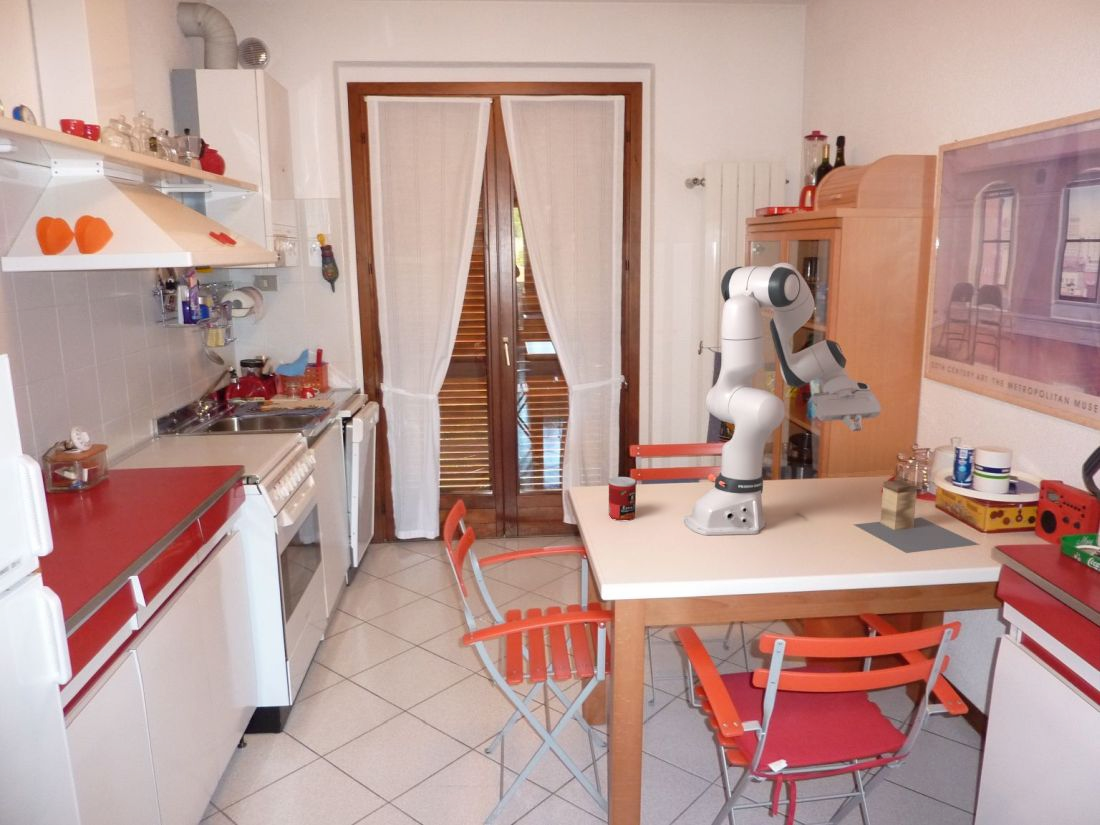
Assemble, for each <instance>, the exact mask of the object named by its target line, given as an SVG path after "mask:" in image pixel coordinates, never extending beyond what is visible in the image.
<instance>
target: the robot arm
mask: <svg viewBox="0 0 1100 825" xmlns="http://www.w3.org/2000/svg"><path fill="white" fill-rule="evenodd" d="M720 289H721V290H720V291H721V295H722V298H723V301H724V303H723V308H722V314H721V321H720V322H721V324H720V340H721V342H720V344H721V345H720V346H721V347H720V349H721V350H720V351H721V357H720V358H721V362H720V363H721V365H720V371H719V375H718V378H717V381H716V383H714V385H713V386H712V387H711V388H710V390H709V391H708V393H707V395H706V399H705V404H706V405H705V406H706V408H707V411H708V412H709V413H710V414H711V415H712V416H713V417H716V419H718V420H720V421H722V422H725V423H728V424H732V425H734V432H733V435H732V437H731V439H730V440H728V441H726V442H725V443H724V444H723V446H722V448H721V463H720V464H721V467H720V473H719V474H718V476H717V475H715V474H714V473H710V474H709V475H708V477H707V479H708V480H709V481H710V482H711V483H714V486H713V487H712V488H711V489H710V490H708V491H707V492H705V493H704V494H702V496H700V497H699V498H697V500H695V502H694V504H693V508H692V513H691V515H686V516H684V519H683V523H684V525H685V526H686V527H687V528H688V529H690V530H691V531H693V532H695V533H698V534H701V535H703V536H716V535H717V536H718V535H719V536H722V535H726V536H727V535H728V536H729V535H749V534H750V535H756V534H758V533H759V532H760V530H761V529H763V528H764V527H766V521H765V517H764V513H763V512H764V511H763V503H762V502H763V501H762V495H763V494H762V493H763V490H764V476H763V474H762V473H763V460H764V450H765V446H766V443H767V440H768V439H769V436H770V435H771V433H773V431H775V430H776V429H778V428H779V427H780V426H781V424H782V422H783V420H784V419H785V414H786V408H785V404H784V401H783V400H782V399H781V398H780V397H779V396H778V395H775V394H773V393H771V392H769V391H767V390H764V389H761V388H760V389H759V388H756V387H755V388H754V387H753V386H752V384H753V378H754V375H755V373H756V372H757V371H759V370H760V369H761V368H762V367H763V365H764V362H765V357H764V356H765V354H764V353H765V352H764V350H765V348H764V326H763V325H764V324H763V319H762V318H763V317H762V313H761V312H762V309H764V308H773V316H772V318H771V319H770V320H769V329H770V333H771V338H772V342H773V345H774V348H775V351H776V355H777V358H778V360H779V368H780V374H781V378H782V380H783V381H784V382H785V384H787V386H789V387H793V388H797V389H800V388H801V387H804V386H806V385H808V384H809V383H810V382H812V381H814V380H816V379H817V380H818V381H819V382H820V387H821V390H822V392H814V393H813V394H812V395H811V398H810V399H811V401H812V405H813V408H814V412H815V414H816V417H817V419H818V420H819V421H820V422H831V421H832V422H834V421H842V422H843V423H844V424H845V425H846V426H847V427H849V429H850V431H851V432H859V431H860V432H861V431H862V430H863V425H862V419H875V418H878V416H879V415H880V414H881V412H882V406H881V404H880V402H879V400H878V398H877V397H876V395H875V394H874V393H873V392H872V391H870V390H871V386H870V384H868V383H865V382H860V381H857V380H854V379H852V378H851V377H850V375H849V374H848V373H847V371H846V365H847V359H846V357H845V355H844V354H843V351H842V347H841V346H840V344H839V343H838V342H836V341H834V340H830V339H824V340H822V341H819V342H817V343H814V344H813V345H810V346H809V347H806V348H804V349H801V350H800V351H798V352H796V353H792V352H791V348H790V344H789V341H790V339H791V338H792V336H793V335H794V334H795V333H796V332H797V331H798V330H799V329H800V328H802V327H803V326H804V325H805V324H806V323H807V322H808V321H809V320H810V318H812V315H813V313H814V311H815V299H814V296H813V294H812V291H811V289H810V287H809V285H808V284H807V282H806V280H805V278H804V277H803V276H802V275H801V273H800V272H799V271H798V269H796V267H795V266H794V265H793V264H791V263H789V262H778V263H776V264H773V265H771V266H766V265H765V266H764V265H750V266H736V267H733V268H731V269H729V270H726V272H725V273H724V274H723V277H722V280H721V283H720ZM852 420H853V421H852ZM854 422H855V423H854Z"/></svg>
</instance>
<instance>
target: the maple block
mask: <svg viewBox="0 0 1100 825" xmlns="http://www.w3.org/2000/svg"><path fill="white" fill-rule="evenodd" d="M882 485H883V486H882V497H881V510H880V512H881V513H880V521H879V522H880V523H881V524H883V525H885V526H887V527H889V528H891V529H893V530H901V529H910V528H914V518H915V516H916V515H915V514H916V503H917V492H918V485H915V484H913V483H911V482H908V481H906V480H903V479H899V480H889V481H883V484H882Z"/></svg>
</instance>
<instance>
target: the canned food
mask: <svg viewBox="0 0 1100 825" xmlns="http://www.w3.org/2000/svg"><path fill="white" fill-rule="evenodd" d="M636 482H637V481H636V479H634V478H631V477H629V476H628V477H627V476H615V477H614V476H613V477H611V478H610V479H609V480H608V516H610V517H611V518H612V520H613V519H616V520H615V521H617V520H629V521H631V520H630V519H632V520H634V519H635V516H636V506H637V505H636V499H637V498H636V496H637V494H636V493H637V483H636ZM610 517H609V518H610ZM611 518H610V519H611ZM633 518H634V519H633Z"/></svg>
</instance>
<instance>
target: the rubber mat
mask: <svg viewBox="0 0 1100 825" xmlns="http://www.w3.org/2000/svg"><path fill="white" fill-rule="evenodd" d="M880 522H881V521H874V522H865V523H856V524H852V525H853V526H855V527H857V528H859V529H861V530H862V531H865V532H867V533H868V534H870V535H872V536H873V537H875V538H878V539H879V540H881V541H883V542H885V543H887V544H889V545H890V546H892V547H894V548H896V549H898V550H900V551H902V552H904V553H906V554H909V553H910V554H911V553H918V552H926V551H935V550H944V549H945V550H946V549H952V548H954V549H955V548H963V547H969V546H977V545H979V546H980V543H977V542H975V541H973V540H971V539H968V538H967V537H964V536H962V535H960V534H958V533H955V532H953V531H952V530H949V529H947V528H945V527H942V526H940V525H938V524H936V523H934V522H931V521H929V520H927V519H925V518H922V517H914V528H910V529H901V530H893V529H891V528H889V527H887V526H885V525H883V524H881V523H880Z"/></svg>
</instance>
